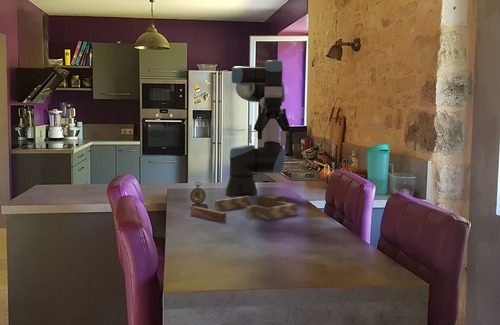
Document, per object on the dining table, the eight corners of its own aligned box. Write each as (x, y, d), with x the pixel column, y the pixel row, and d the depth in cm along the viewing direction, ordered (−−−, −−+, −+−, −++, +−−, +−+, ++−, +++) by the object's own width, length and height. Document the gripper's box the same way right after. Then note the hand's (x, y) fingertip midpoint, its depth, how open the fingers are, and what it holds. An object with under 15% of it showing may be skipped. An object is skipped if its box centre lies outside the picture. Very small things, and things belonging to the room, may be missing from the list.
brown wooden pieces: (248, 204, 230) (248, 195, 230) (296, 214, 211) (296, 204, 211) (189, 214, 208) (189, 203, 208) (237, 225, 189) (237, 214, 188)
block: (270, 205, 232) (270, 193, 231) (285, 207, 226) (285, 196, 226) (258, 207, 226) (258, 195, 225) (273, 210, 220) (273, 198, 220)
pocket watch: (200, 209, 218) (200, 184, 217) (185, 206, 223) (185, 182, 222) (213, 206, 225) (213, 182, 224) (198, 204, 230) (198, 181, 229)
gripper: (286, 97, 243) (285, 145, 245) (246, 96, 226) (245, 146, 228) (298, 97, 238) (297, 146, 240) (258, 96, 220) (257, 148, 222)
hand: (272, 146), depth 234 cm, fingers open, 13 cm apart
